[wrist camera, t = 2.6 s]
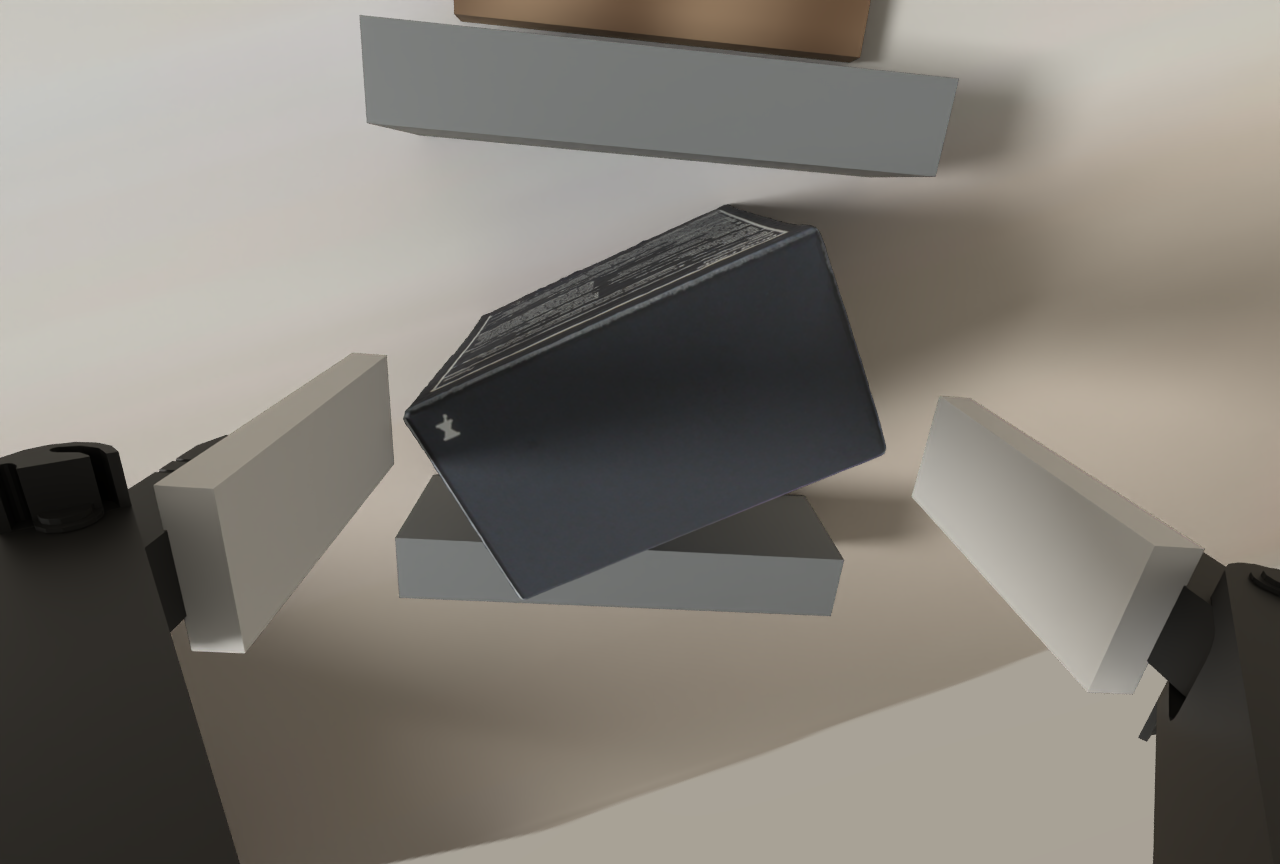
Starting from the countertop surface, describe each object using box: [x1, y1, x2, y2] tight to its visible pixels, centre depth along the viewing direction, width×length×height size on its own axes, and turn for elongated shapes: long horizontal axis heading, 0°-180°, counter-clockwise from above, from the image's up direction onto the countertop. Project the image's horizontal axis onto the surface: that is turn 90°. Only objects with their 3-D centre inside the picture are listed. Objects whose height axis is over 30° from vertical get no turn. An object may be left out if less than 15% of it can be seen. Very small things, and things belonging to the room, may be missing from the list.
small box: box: [403, 204, 886, 600], centre depth 20 cm, size 11×6×10 cm, turn 114°
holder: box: [360, 15, 959, 616], centre depth 22 cm, size 16×18×5 cm
